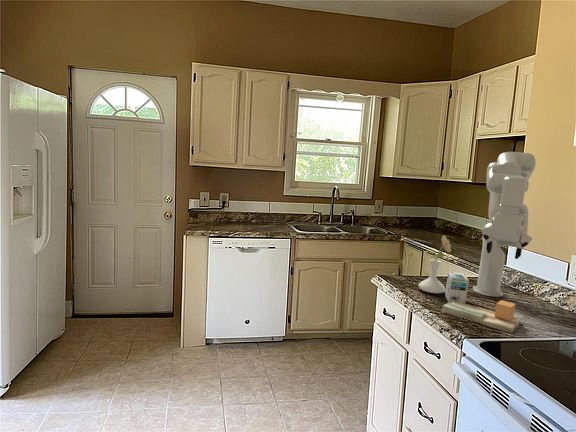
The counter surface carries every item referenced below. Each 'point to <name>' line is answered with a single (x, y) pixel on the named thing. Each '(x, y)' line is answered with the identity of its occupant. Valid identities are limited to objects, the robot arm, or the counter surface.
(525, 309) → the counter surface
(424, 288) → the flower in vase
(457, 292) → the light bulb box
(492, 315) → the board
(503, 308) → the stub
